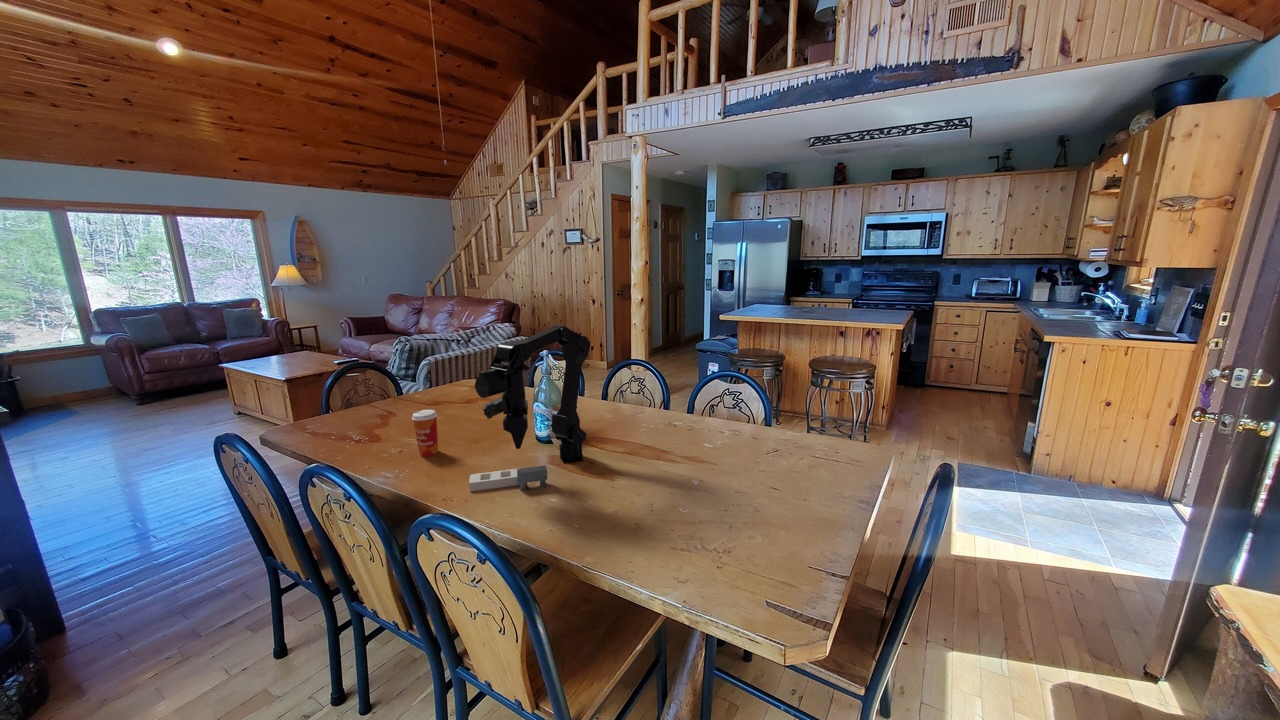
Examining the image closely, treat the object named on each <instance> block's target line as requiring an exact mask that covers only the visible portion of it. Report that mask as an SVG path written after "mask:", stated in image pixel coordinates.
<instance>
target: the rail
mask: <svg viewBox="0 0 1280 720" xmlns="http://www.w3.org/2000/svg"><path fill="white" fill-rule="evenodd" d="M517 469H521V468H510V469H504V470H502V469H501V470H495V471H489V472H480V473H479V472H478V473H473V474H470V475H469V482H468V488H469V492H476V491H477V492H478V491H484V490H491V489H499V488H506V487H513V486H520V483H519V484H518V479H517Z"/></svg>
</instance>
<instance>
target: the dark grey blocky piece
mask: <svg viewBox="0 0 1280 720" xmlns="http://www.w3.org/2000/svg"><path fill="white" fill-rule="evenodd" d="M516 469H517V479H518V484H519V483H520V485H519V490H520V492H521V491H526V490H527V487H526V486H527V485H526V483H532V482H539V487H540V488H541V489H542V488H546V487H547V483H546V482H547V480H548V469H547V465H538V466H537V465H536V466H529V467H522V468H521V469H518V468H516Z"/></svg>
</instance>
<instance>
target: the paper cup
mask: <svg viewBox="0 0 1280 720" xmlns="http://www.w3.org/2000/svg"><path fill="white" fill-rule="evenodd" d="M437 417H438V414H437V412H436V411H435V410H434V409H423V410H422V409H421V410H418V411H416V412H414V413H412V417H411V420H412V422H413V426H414V433H415V436H416V442H417V447H418V452H419V455H420V456H421V457H432V456H434V454H435V455H436V453H437V452H438V453H439V444H438V442H439V441H438V424H437V423H438V422H437V421H438V420H437ZM438 453H437V454H438Z"/></svg>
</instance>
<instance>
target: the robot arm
mask: <svg viewBox="0 0 1280 720" xmlns="http://www.w3.org/2000/svg"><path fill="white" fill-rule="evenodd" d="M554 344H557V345H559V346H560V347H561V354H562V356H563V359H564V363H565V365H564V366H565V367H564V374H563V383H562V390H561V397H560V398H561V399H560V407H559V410H558V411H557V412H556V413H553V414H552V415H551V423H550V428H551V432H552V433H553V435H554V436H555V439H556V440H557V441H560V443H559V444H558V447H559V448H558V451H559V458H560V460H561V463H563V464H567V463H574V462H575V463H576V462H583V461H584V457H583V443H584V442H586V441H587V436H588V434H587V433H586V432H585V431H584V430H583V429H582V428H581V419H580V417H579V414H578V412H577V408H578V407H577V406H578V398H579V389H580V382H581V373H582V366H583V363H584V362H586V360H587V358H588V357H589V354H590V347H591V341H590V340H589V338H588V336H586V335H582V334H580V333H578V332H575V331H574V330H572V329H570V328H569V327H567V326H565V325H557V324H553V325H551V326H550V327H549V328H546V329H544V330H542V331H540V332H538V333H535V334H533V335H530V336H528V337H526V338H524V339H518V340H509V341H506V342H505V341H504V342H501V343H500V344H498V346H497V349H496V352H495V354H494V356H493V359H492V360H491V363H490V365H489V367H488V369H487V370H480V371H478V377H476V380H475V382H474V389H475V392H476V393H477V395H478V396H479V397H480V398H482V399H487V398H489V397H490V398H491V397H492V396H495V395H499V394H502V396H501V397H497V398H496V399H493V400H491V401H489V402H487V403H485V404H483V406H482V411H483V415H484V416H486V418H487V419H488V420H490V419H492V418H493V417H495V416H497V415H499V414H502V413H503V415H506V416H504V418H503V420H502V428H503V431H505V432H508V433H510V435H511V438H512V440H513V444H514V446H515V449H516V450H520V449H521V448H522V445H523V442H524V439H525V436H526V433H527V430H528V429H529V422H528V411H529V405H528V404H529V403H528V400H527V399H526V388H525V386H526V385H525V376H524V375H525V374H524V372H526V371H528V370H530V366H528V365H527V364H526V362H527V361H529V360H530V358H531V356H532V355H533V354H534V353H536V352H538V351H541V350H542V349H545V348H547V347H549V346H551V345H554Z"/></svg>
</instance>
